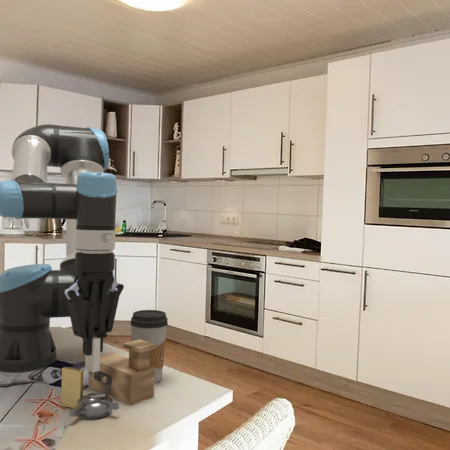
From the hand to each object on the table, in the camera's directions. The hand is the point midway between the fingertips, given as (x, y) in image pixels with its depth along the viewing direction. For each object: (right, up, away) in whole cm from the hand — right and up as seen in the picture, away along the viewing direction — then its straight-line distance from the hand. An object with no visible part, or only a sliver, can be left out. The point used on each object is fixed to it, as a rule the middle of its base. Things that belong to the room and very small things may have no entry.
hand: (92, 369), depth 94 cm
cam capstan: (+1, -6, -5) cm, 8 cm away
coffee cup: (+9, -6, +13) cm, 17 cm away
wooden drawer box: (+4, -6, +5) cm, 9 cm away
